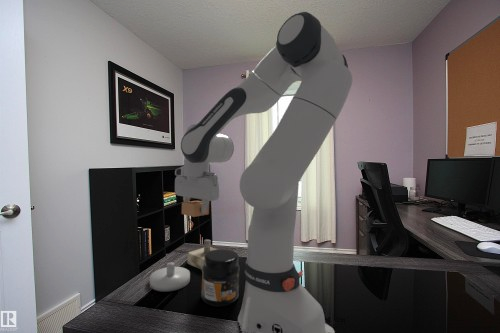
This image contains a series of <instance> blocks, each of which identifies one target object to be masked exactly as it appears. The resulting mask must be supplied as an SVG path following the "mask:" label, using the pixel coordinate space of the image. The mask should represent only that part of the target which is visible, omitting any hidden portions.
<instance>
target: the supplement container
mask: <svg viewBox="0 0 500 333" xmlns="http://www.w3.org/2000/svg"><path fill="white" fill-rule="evenodd" d="M216 249H217V248H216ZM204 263H205V264H204V265H203V267H202V270H201V272H202V277H201V278H202V279H201V299H202V300H203V302H204V303H206V305H209V306H212V307H220V308H221V307H225V306H226V307H227V306H230V305H231V304H233V303H235V302H236V301H237V299H238V298H239V294H240V292H239V288H240V284H239V282H240V270H241V268H240V265H239V253H237V251H234V250H232V249H226V248H225V249H224V248H223V249H221V248H219V249H217V250H212V251H209V252H207V253H206V254H205V256H204Z"/></svg>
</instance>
